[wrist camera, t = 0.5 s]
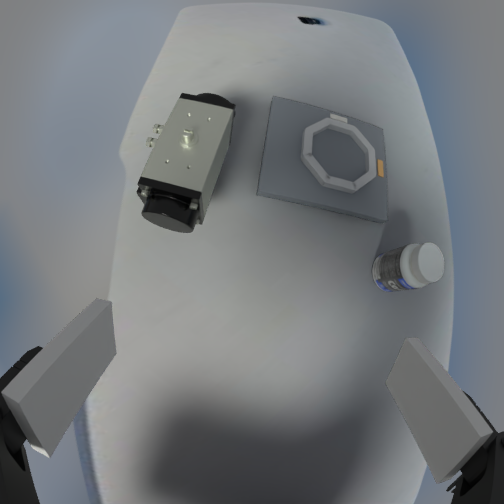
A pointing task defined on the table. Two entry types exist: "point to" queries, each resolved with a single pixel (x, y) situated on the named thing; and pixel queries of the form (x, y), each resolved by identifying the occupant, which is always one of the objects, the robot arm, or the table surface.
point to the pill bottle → (408, 267)
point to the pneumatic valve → (186, 161)
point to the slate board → (324, 161)
